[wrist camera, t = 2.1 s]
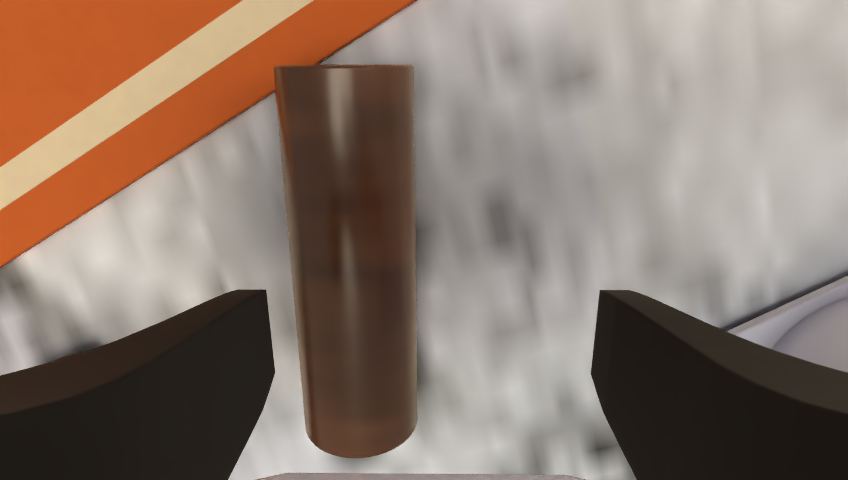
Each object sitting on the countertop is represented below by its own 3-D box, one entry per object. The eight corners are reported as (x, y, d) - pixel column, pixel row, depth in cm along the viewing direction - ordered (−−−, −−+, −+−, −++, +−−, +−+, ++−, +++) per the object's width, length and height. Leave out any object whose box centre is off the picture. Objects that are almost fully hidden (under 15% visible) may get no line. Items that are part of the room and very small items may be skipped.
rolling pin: (398, 64, 16) (274, 65, 15) (428, 65, 13) (271, 66, 12) (404, 381, 19) (304, 396, 19) (429, 447, 16) (308, 468, 15)
